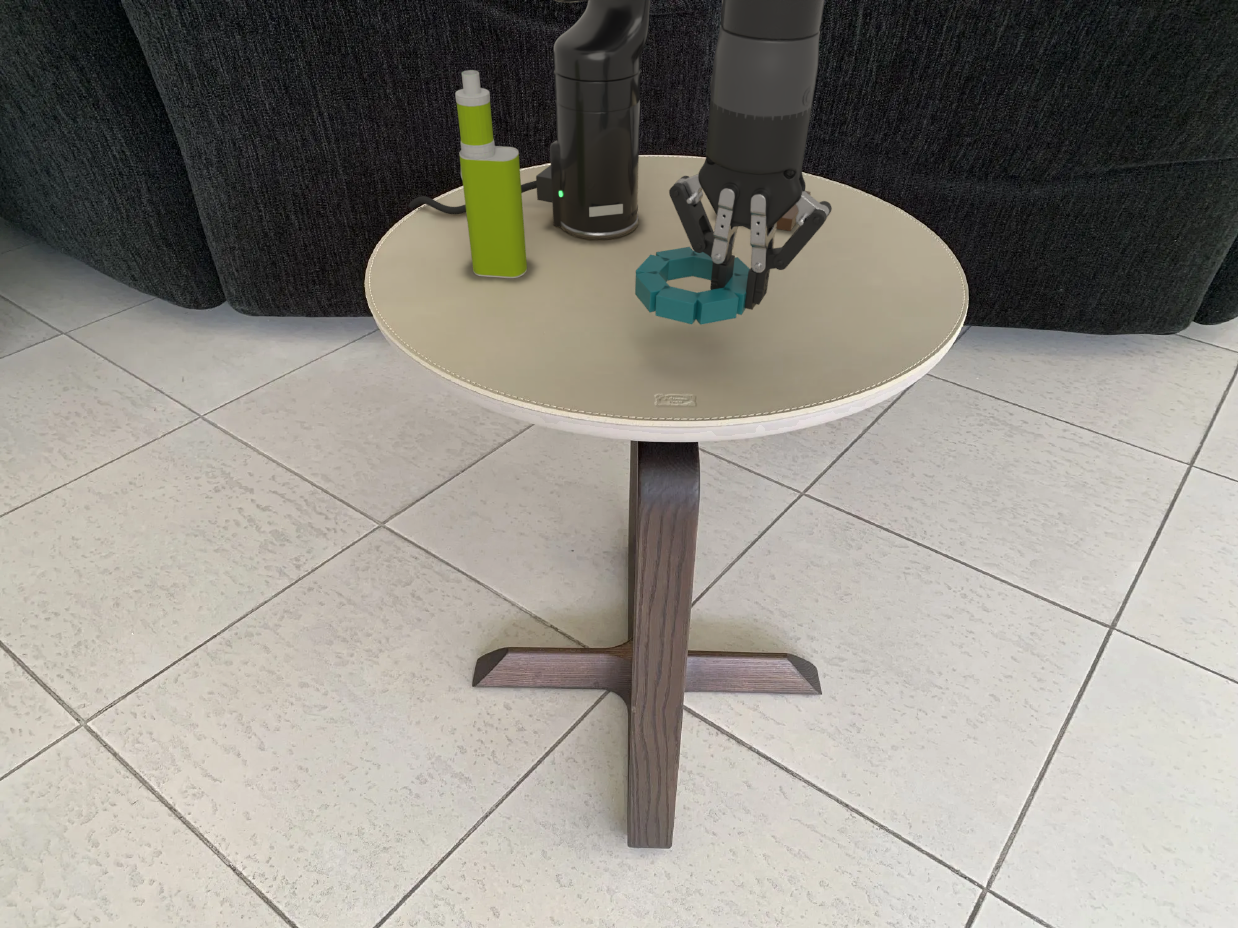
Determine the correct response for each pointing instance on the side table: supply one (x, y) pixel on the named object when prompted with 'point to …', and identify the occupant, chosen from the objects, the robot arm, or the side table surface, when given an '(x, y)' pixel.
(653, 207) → the side table surface
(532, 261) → the side table surface
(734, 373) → the side table surface
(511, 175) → the vape
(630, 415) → the side table surface
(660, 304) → the ring
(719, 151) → the robot arm
